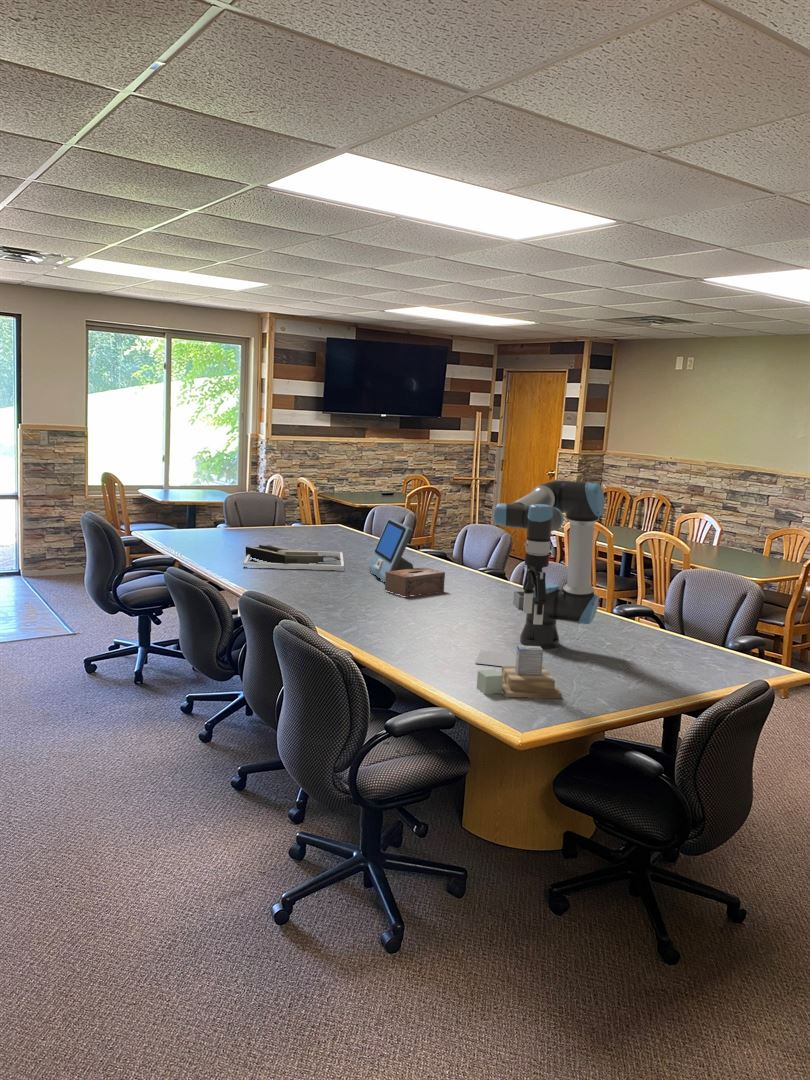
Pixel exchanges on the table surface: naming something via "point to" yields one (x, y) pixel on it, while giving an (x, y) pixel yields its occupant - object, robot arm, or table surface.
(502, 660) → the paper stack
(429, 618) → the table surface
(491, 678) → the green block
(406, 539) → the touchscreen device
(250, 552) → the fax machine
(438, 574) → the tissue box cover
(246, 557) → the document tray rim
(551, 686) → the pedestal
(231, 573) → the table surface
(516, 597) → the desk organizer
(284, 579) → the table surface
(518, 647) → the medicine box
